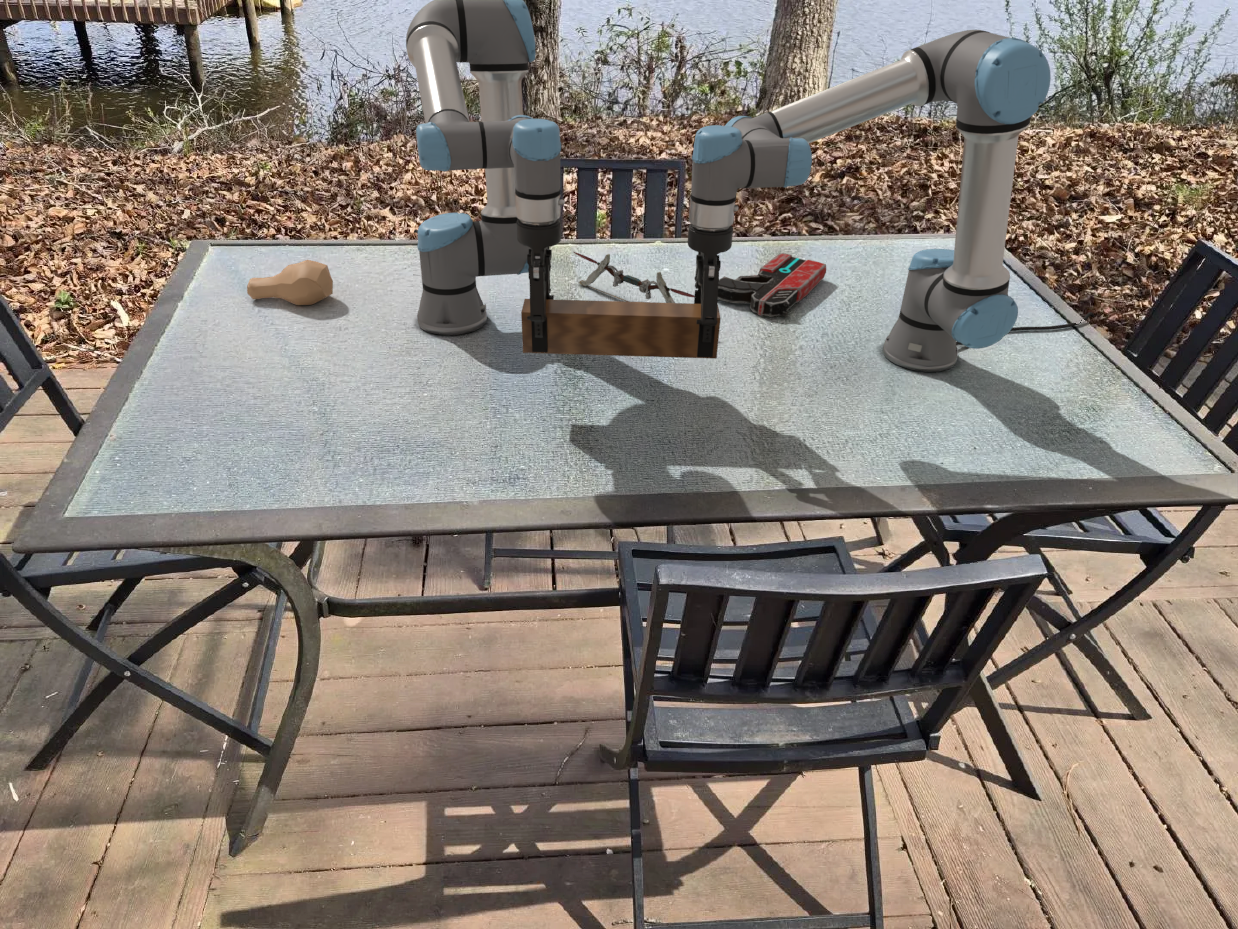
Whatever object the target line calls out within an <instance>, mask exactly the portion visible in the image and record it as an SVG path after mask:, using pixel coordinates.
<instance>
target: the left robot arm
mask: <svg viewBox="0 0 1238 929" xmlns="http://www.w3.org/2000/svg"><path fill="white" fill-rule="evenodd" d="M405 36H406V37H405V46H406V54H407V57H408V60H409V61H410V63H411V65H412V66H413V67H414V68H415V73H416V79H417V84H418V90H419V95H420V101H421V106H422V113H423V117H424V118H423V119H424V123H420V124H418V125H417V127H416V129H415V133H416V146H417V153H418V159H419V160H418V162H419V165H420V167H421V168H422V169H423V170H425V171H433V172H435V171H438V172H439V171H440V172H443V173H445V172H449V171H450V172H451V171H467V170H482V169H484V175H485V189H486V205H485V206H484V207H483V208H482V210H481V211H480V220H477V221H475V220H474V221H473V218H472V217H471V216H470V215H469V214H468V213H464V212H447V213H442V214H441V213H440V214H437V215H434V216H431V217H429V218H427V219H426V220H424V221H423V222H421V224H419V226H418V227H417V228H418V229H414V230H413V234H416V235H417V247H416V248H417V251H418V252H419V253H418V254H419V263H420V275H421V284H422V292H421V297H420V302H419V305H418V310H417V315H416V318H417V325H418V326H419V328H420V329H421V330H423V331H424V332H427V333H430V334H433V335H440V336H459V335H465V334H469V333H473V332H476V331H477V330H480V329H481V328H483V327H484V326H485V325H486V323H487V320H488V316H487V304H486V303H485V304H484V302H483V299H482V298H481V295H480V293H479V291H478V288H477V278H476V277H490V276H503V275H504V276H506V275H517V276H520V275H522V274H528V281H529V299H530V316H527V320H531V325H532V352H545V353H547V352H548V340H547V316H546V299H553V300H555V296H554V294H551V292H552V288H551V268H552V257H553V256H552V255H553V250H552V249H550V248H552V247H554V246H557V245H558V244H559V243H560V242H561V241H562V220H561V219H560V218H561V216H562V208H561V207H562V206H564V205H565V200H564V199H562V198H561V192H562V190H561V151H562V142H561V132H560V131H561V130H560V127H559V125H558V124H557V123H556V122H555V121H552V120H550V119H546V118H533V117H532V116H529V115H525V114H524V107H523V91H522V80H523V79H524V78H525V77H526V75H527V74H528V73H529V63H532V62H534V61H535V60H536V40H535V32H534V27H533V21H532V17H531V14H530V11H529V8H528V6H527V4H526V2H525V1H524V0H431V1H429V2H428V3H426V4H425V5H423V6H422V7H421V9H419V10H418V12H417V13H416V14H415V15H414V17H413V18H412V20H411V22H410V23H409V26H408V28H407V32H406V35H405ZM458 63H460V64H461V63H466V64H467V63H468V64H469V73H470V74H471V76H473V77H474V78H475V79H476V80H477V83H478V93H479V106H480V119H481V121H470V117H469V113H468V108H467V104H466V100H465V94H464V91H463V86H462V81H461V77H460V74H459V69H458V68H459V67H458Z"/></svg>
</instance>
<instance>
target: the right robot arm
mask: <svg viewBox="0 0 1238 929" xmlns="http://www.w3.org/2000/svg"><path fill="white" fill-rule="evenodd" d="M1051 78H1052V77H1051V67H1050V64H1049V61H1048V59H1047V57H1046V55H1045V54H1044V53H1043V52H1042V51H1041V50H1040V49H1039V48H1038V47H1037V46H1035V45H1033V44H1031V43H1029V42H1027V41H1025V40H1024V39H1022V38H1017V37H1008V36H1004V35H1001V34H997V33H993V32H990V31H986V30H982V29H966V30H962V31H957V32H953V33H951V34H949V35H948V34H947V35H944V36H941V37H939V38H936V39H933V40H931V41H929V42H925V43H924V44H923V43H922V44H921V45H919V46H916V47H914V48H911V49H908V50H905V51H904V53H903V54H902V56H901V57H900V59H899V60H897V61H895V62H892V63H890V64H887V65H884V66H882V67H879V68H876V69H874V70H872V71H869V72H866V73H864V74H862V75H858V76H857V77H854V78H852V79H849V80H847V81H844V82H842V83H839V84H836V85H835V86H832V87H829V88H827V89H823V90H821V91H819V92H816V93H814V94H811V95H809V96H806V97H803V98H801V99H799V100H795V101H793V102H791V103H788V104H785V105H783V106H781V107H778V108H775V109H773V110H771V111H768V112H765V113H762V114H760V115H759V114H758V115H757V116H755V117H752V116H748V115H738V116H735V117H732V118H731V119H730V120H729V121H727V122H726V124H724V125H720V124H714V125H713V124H712V125H707V126H703V127H701V128H699V129H698V130H697V131H696V133H695V136H694V141H693V149H692V150H693V151H692V156H691V161H692V164H691V166H692V167H691V188H690V191H691V192H690V197H689V209H688V222H689V223H690V224H689V225H688V229H687V230H688V232H687V246H688V248H690V249H691V250H692V251H694V252H697V254H696V256H695V274H694V275H695V276H694V282H695V284H694V288H695V290H694V297H693V298H694V299H693V304H701V319H700V320H697V321H696V324H699V334H698V348H697V357H713V347H714V335H715V326H716V325H717V322H718V321H717V304H718V303H719V301H718V300H719V299H718V283H719V280H720V270H721V266H722V264H721V262H722V261H721V259H720V255H719V254H721V253H726V252H728V251H730V250H731V248H732V246H733V235H734V227H733V226H732V225H733V224H734V221H735V212H737V211H739V208H740V207H739V205H738V204H736V200H737V194H738V193H737V192H738V189H761V188H762V189H763V188H764V189H765V188H784V189H785V188H789V187H795V186H801V185H803V184H805V183H806V181H808V179H809V177H810V174H811V171H812V165H813V164H812V163H813V153H812V149H811V145H810V144H811V143H814V142H816V141H819V140H821V139H824V138H827V137H829V136H832V135H834V134H837V133H839V132H841V131H844V130H848V129H850V128H852V127H855V126H857V125H860V124H862V123H865V122H867V121H870V120H872V119H875V118H878V117H880V116H883V115H886V114H888V113H891V112H894V111H895V110H899V109H901V108H905V107H906V106H909V105H913V106H915V107H918V108H919V107H923V106H925V105H927V104H930V103H935V102H952V103H954V104H957V106H956V119H955V129H956V130H957V131H958V132H959V133H960V134H961V135H962V136H963V148H962V160H961V170H960V181H959V193H958V203H957V204H958V205H957V215H956V227H955V236H954V247H953V248H954V249H949V248H948V249H947V248H927V249H921V250H918V251H916V252H915V253H914V254H913V256H912V257H911V260H910V263H909V266H908V268H907V269H908V273H907V277H906V282H905V286H904V291H903V296H902V299H901V305H900V310H899V315H898V318H897V320H896V321H895V323H894V325H893V326H892V328H891V329H890V332H889V334H888V335H887V336H886V338H885V340H884V343H883V346H882V354H883V356H885V357H884V358H886V359H887V360H888V361H890V362H891V363H893V364H895V365H896V366H899V367H902V368H904V369H908V370H911V371H917V372H925V373H936V372H937V373H938V372H943V371H948V370H950V369H952V368H953V367H955V365H956V363H957V360H958V354H959V350H958V346H964V347H967V348H970V349H975V350H979V349H984V348H988V347H991V346H994V345H995V344H997V343H998V342H1000V341H1002V340H1003V338H1004V337H1005V336H1007V335H1008V334H1009V332H1018V331H1047V330H1048V331H1050V330H1059V329H1065V328H1071V327H1075V326H1078V325H1080V324H1076V323H1074V322H1070V323H1066V324H1057V325H1046V326H1018V327H1017V326H1015V324H1016V322H1017V320H1018V316H1019V308H1018V304H1017V303H1016V301H1015V299H1014V298H1013V297H1012V296H1010V295H1009V286H1010V279H1011V274H1010V270H1008V268H1006V267H1005V266H1004V265H1003V264H1004V257H1005V256H1004V255H1005V250H1006V249H1005V248H1006V240H1007V231H1008V224H1009V216H1010V207H1011V200H1012V190H1013V183H1014V176H1015V166H1016V159H1017V150H1018V142H1019V136H1020V135H1021V133H1023V132H1024V131H1025V130H1026V129H1028V128H1029V127H1030V124H1031V117H1032V116H1034V114H1036V113H1037V111H1039V106H1040V105H1041V104H1044V102H1045V100H1046V98H1047V97H1048V94H1049V91H1050V86H1051V80H1052V79H1051ZM1089 318H1095V315H1094V313H1093V312H1092V311H1089V312H1088V313H1086V315H1084V317H1083V318H1082V319H1084V320H1085V322H1086V321H1087V320H1088V319H1089ZM1082 319H1081V321H1082ZM1080 323H1081V322H1080ZM1081 324H1082V323H1081ZM1014 326H1015V327H1014Z"/></svg>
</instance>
